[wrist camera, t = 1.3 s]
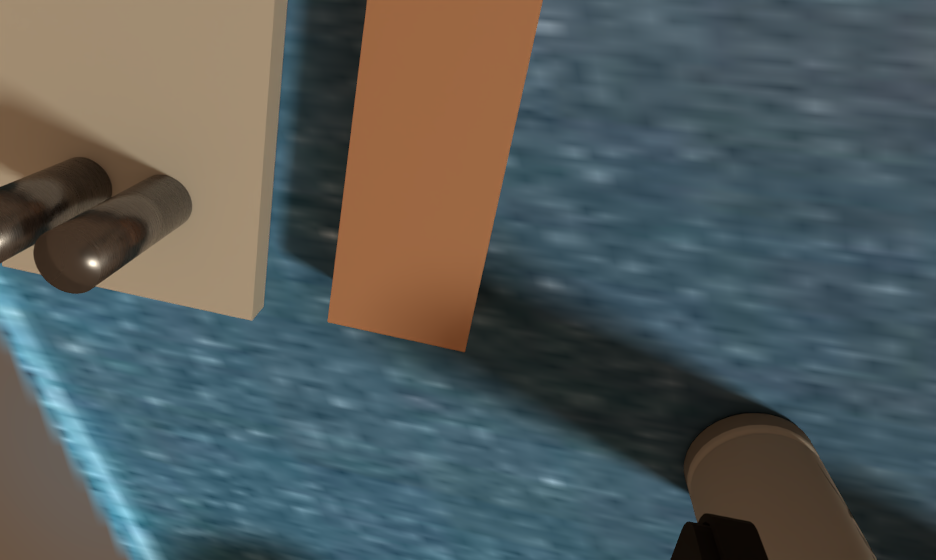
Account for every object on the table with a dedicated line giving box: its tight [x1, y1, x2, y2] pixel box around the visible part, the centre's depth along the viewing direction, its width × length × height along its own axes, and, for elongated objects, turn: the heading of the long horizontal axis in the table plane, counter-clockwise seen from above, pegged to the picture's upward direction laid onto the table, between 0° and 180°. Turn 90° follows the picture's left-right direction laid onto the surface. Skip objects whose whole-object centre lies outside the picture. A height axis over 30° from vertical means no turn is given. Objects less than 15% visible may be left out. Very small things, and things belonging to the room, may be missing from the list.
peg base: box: [0, 0, 288, 321], centre depth 29 cm, size 24×12×2 cm, turn 169°
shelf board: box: [328, 0, 543, 352], centre depth 28 cm, size 20×6×4 cm, turn 169°
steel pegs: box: [0, 157, 192, 294], centre depth 25 cm, size 16×6×7 cm, turn 169°
